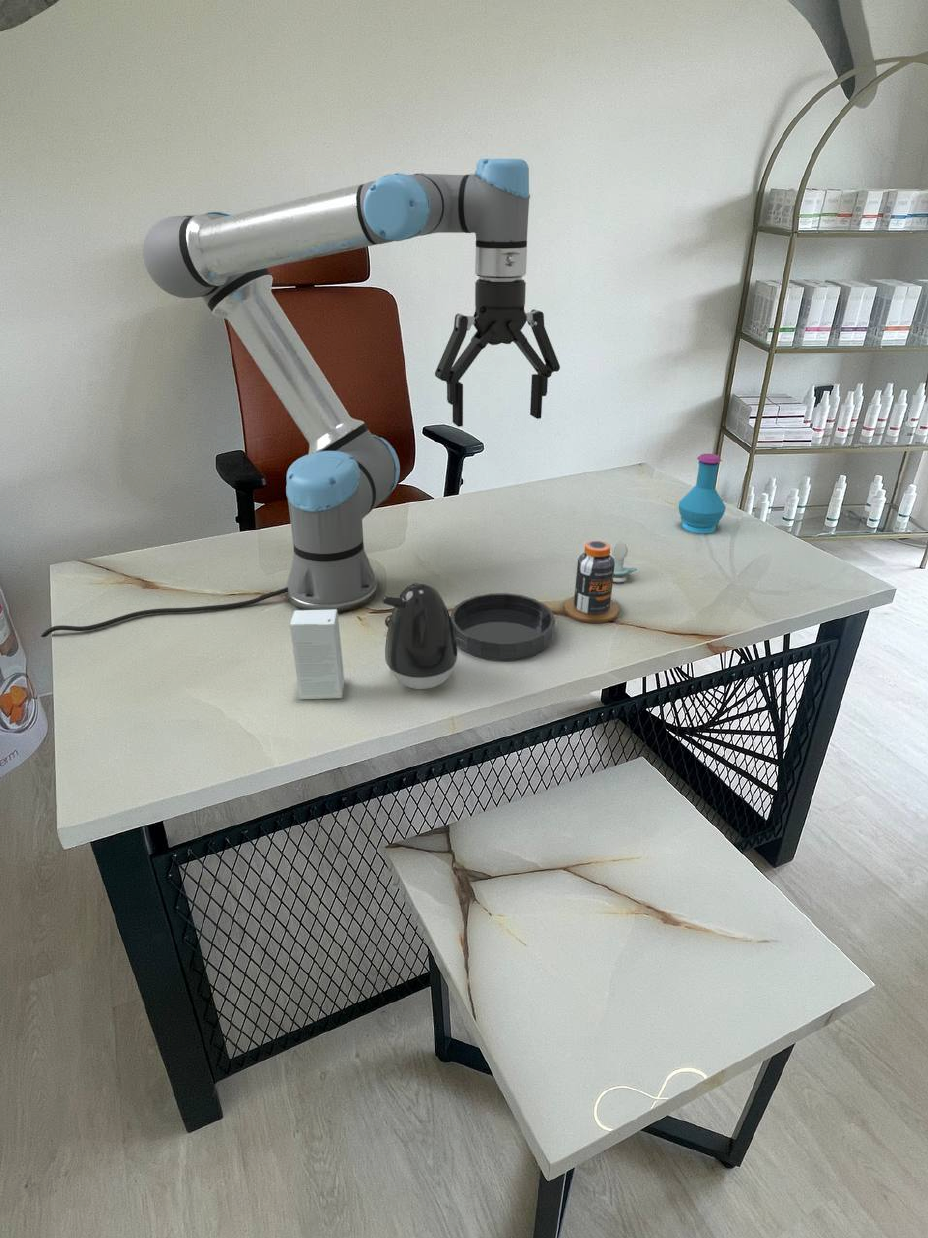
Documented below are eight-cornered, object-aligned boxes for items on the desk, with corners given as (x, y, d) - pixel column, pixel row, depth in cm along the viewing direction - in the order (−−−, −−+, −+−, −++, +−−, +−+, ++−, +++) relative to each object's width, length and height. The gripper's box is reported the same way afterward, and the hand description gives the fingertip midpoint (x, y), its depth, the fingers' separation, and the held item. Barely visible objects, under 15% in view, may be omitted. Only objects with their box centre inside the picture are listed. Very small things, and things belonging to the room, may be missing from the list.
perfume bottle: (667, 521, 168) (676, 451, 160) (706, 516, 170) (717, 447, 163) (691, 538, 160) (702, 465, 153) (731, 532, 162) (743, 460, 155)
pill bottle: (587, 618, 130) (593, 554, 124) (566, 603, 134) (571, 541, 129) (617, 610, 132) (624, 547, 127) (595, 595, 137) (601, 534, 131)
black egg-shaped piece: (375, 669, 118) (369, 576, 110) (441, 654, 121) (439, 563, 114) (399, 706, 109) (394, 608, 102) (468, 689, 113) (469, 593, 106)
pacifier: (617, 588, 141) (640, 578, 144) (620, 556, 138) (643, 546, 141) (587, 574, 146) (609, 564, 149) (589, 542, 143) (612, 533, 146)
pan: (472, 669, 118) (472, 651, 116) (436, 618, 131) (436, 602, 130) (571, 649, 123) (572, 632, 121) (527, 602, 136) (528, 586, 135)
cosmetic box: (345, 682, 115) (338, 608, 109) (342, 699, 111) (335, 624, 105) (302, 683, 114) (293, 609, 109) (297, 700, 111) (288, 624, 105)
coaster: (579, 627, 129) (580, 624, 128) (554, 602, 136) (555, 599, 136) (628, 617, 131) (629, 614, 131) (601, 594, 139) (601, 590, 139)
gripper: (428, 284, 112) (431, 434, 122) (587, 277, 120) (577, 419, 130) (412, 278, 118) (416, 421, 129) (564, 272, 126) (556, 407, 136)
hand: (497, 420), depth 129 cm, fingers open, 13 cm apart
